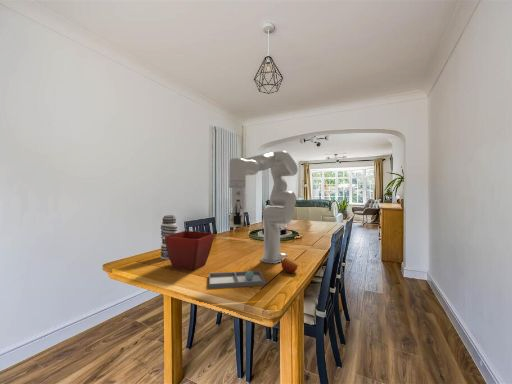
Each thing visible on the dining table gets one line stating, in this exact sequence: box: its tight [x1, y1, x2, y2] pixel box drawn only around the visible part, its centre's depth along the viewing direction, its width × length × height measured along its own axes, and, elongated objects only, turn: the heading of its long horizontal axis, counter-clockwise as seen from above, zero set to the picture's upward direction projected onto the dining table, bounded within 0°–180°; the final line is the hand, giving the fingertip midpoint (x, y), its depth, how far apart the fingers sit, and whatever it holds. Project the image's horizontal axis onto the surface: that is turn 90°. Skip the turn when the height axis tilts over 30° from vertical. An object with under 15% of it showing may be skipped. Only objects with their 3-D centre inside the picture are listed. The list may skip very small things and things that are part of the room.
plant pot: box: [165, 230, 215, 271], centre depth 123 cm, size 19×19×17 cm
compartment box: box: [208, 270, 267, 289], centre depth 104 cm, size 24×13×2 cm, turn 101°
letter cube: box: [228, 212, 245, 228], centre depth 108 cm, size 6×6×6 cm
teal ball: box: [245, 270, 254, 280], centre depth 105 cm, size 4×4×4 cm
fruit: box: [281, 257, 299, 274], centre depth 117 cm, size 8×8×8 cm
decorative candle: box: [160, 214, 178, 260], centre depth 138 cm, size 9×9×25 cm
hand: (236, 223), depth 108 cm, fingers closed on letter cube, 6 cm apart
